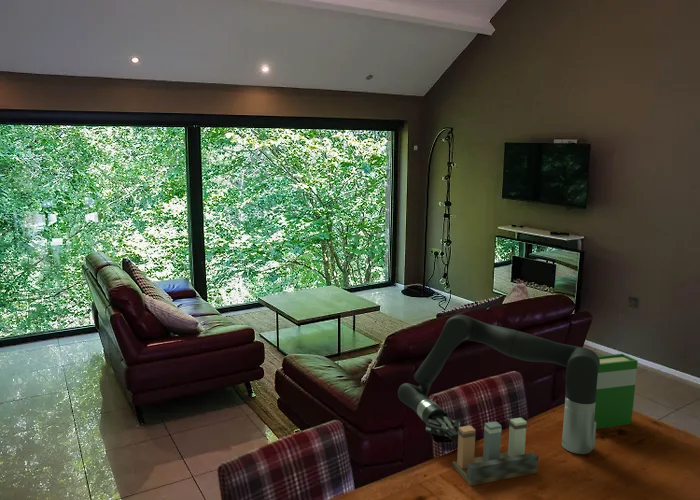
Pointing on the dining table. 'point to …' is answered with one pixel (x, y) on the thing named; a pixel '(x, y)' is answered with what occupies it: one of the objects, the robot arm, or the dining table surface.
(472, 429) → the tan tall block
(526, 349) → the robot arm
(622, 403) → the hardback book
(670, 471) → the dining table surface
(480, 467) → the dark grey block stand
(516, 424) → the white tall block
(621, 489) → the dining table surface
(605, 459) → the dining table surface
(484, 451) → the slate key
